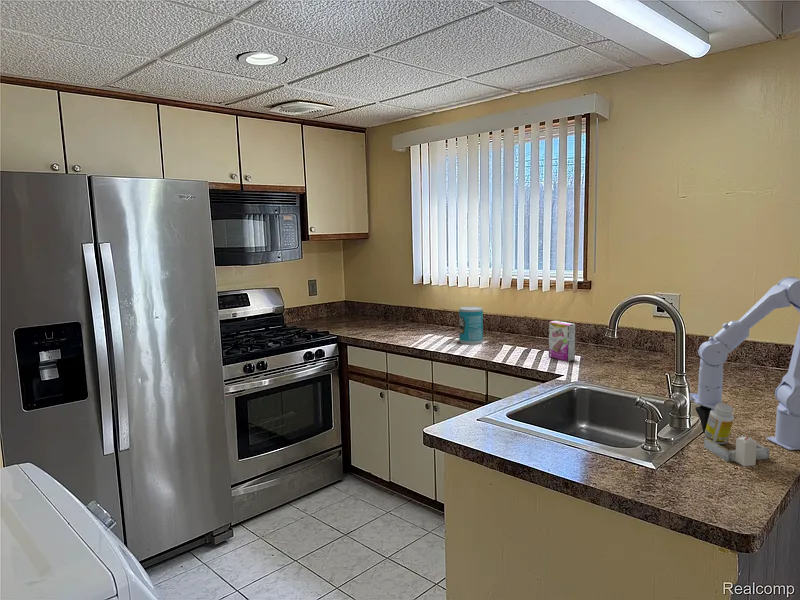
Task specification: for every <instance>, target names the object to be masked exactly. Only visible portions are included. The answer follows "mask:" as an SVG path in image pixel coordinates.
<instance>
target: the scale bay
mask: <svg viewBox="0 0 800 600" xmlns="http://www.w3.org/2000/svg"><path fill="white" fill-rule="evenodd" d="M740 437H745V436H744V435H741V436H739V438H740ZM703 440H704V441H703V443H704V445H703V448H705V450H707V451H709V452H711V453H713V454H715V455H716V456H717V457H719V458H721V459H723V460H725V461H726V462H728V463H729V462H736V461H735V455H736V449H731V450H729V449H727V448H725V447H724V446H722V445H721V444H717V443H715V442H714V441H712V440H710V439H708V438H706V437H705V438H703ZM769 459H770V449H769V448H767V447H766V446H764V445H762V444H759V443H758V442H757V447H756V460H769Z"/></svg>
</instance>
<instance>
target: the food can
mask: <svg viewBox="0 0 800 600" xmlns="http://www.w3.org/2000/svg"><path fill="white" fill-rule="evenodd" d="M458 311H459V312H458V313H459V316H458V319H459V321H458V322H459V323H458V324H459V326H458V327H459V331H458V333H459V343H460V344H462V345H469V346H472V345H473V346H475V345H481V344H483V341H484V320H483V319H484V317H483V316H484V310H483V307H481V306H473V305H472V306H461V307H459V310H458Z"/></svg>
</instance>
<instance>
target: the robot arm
mask: <svg viewBox="0 0 800 600" xmlns="http://www.w3.org/2000/svg"><path fill="white" fill-rule="evenodd" d="M792 306H793V308H794V309H796V311H797V312H798V313H799V314H800V278H798V277H795V276H787V277H784V278H782V279H780V280H779V281H778V283H776V284H775V285H772V287H770V288H769V289H768V290H767V292H766V293H765V294H763V296H762V297H761V298H760V299H759V300H758V301H757V302H756V303H754V304H753V306H752V307H751V308H750V309H749V310H747V312H746V313H745V314H744V315H742V316H741V318H739V319H738V320H730V321H729V322H728V323H727V322H724V323H723V324H722V325H721V327H722V328H721V329H720V330H718V331H717V333H715V335H714V336H709V338H708V341H704V342H702V343H701V344H700V346H699V348H698V349H697V353H698V354H697V355H698V357H700V360H699V367H698V368H699V369H698V383H697V384H698V385H697V387H698V388H697V393H696V392H693V393H692V392H691V393H689V401H691V402H693V404H695V405H697V406H695V408H694V409H695V411H696V413H697V415H698V417H699V420H700V425H701V428H702V429H701V430H702V432H703V434H704V435H705V430H706V426H707V422H708V418H709V414H710V411H711V410H712V409H715V405H716V404H717V403H723V401H722V400H723V383H724V382H723V381H724V363H726V362H727V360H728V356H729V355H728V354H730V353H732V352H733V351H734V350H735V349H736V348H737V347H738V346H740V345H741V344H742V343H743V342H744V341H746V340H747V339H748V337H750V329H751V328H752V327H754V326H755V325H757V324H758V323H759V322H760V321H761V320H763V319H764V318H765V317H767V316H768V315H769V314H771V313H772V312H773V311H775V310H776V309H781V308H789V307H792ZM774 396H775V399H776V400H777V402H778V405H777V407H776V419H775V432H774V434H775V435H774V436H767V437H766V440H768V441H770V442H772V443H774V444H777V445H779V446H780V447H782V448H784V449H786V450H788V451H796V450H800V323H799V325H798V329H797V333H796V337H795V341H794V344H793V350H792V353H791V358H790V361H789V366H788V369H787V372H786V374H785V375H784V376H782V379H781V381H780V383H779V385H778V386H777V387H776V389H775V391H774ZM726 410H731V409H726ZM730 416H731V415H730ZM730 416H723V417H730Z"/></svg>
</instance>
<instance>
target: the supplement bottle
mask: <svg viewBox="0 0 800 600" xmlns="http://www.w3.org/2000/svg"><path fill="white" fill-rule="evenodd" d="M726 409H731V410H726ZM733 410H734V409H733V407H732V406H731V405H729V404H728V403H724V402H722V403H717V404H716V405H715V409H712V410H711V411H710V414H709V418H708V422H707V426H706V430H705V434H704V437H705V439H706V438H708V439H710V440H712V441H714V442H715V443H717V444H719V445H723V444H724V445H725V444H726V443H727V442H728V440H729V437H730V434H731V430H732V426H733V423H734V419H735V416H734V414H733ZM730 415H731V416H730ZM723 416H730V417H723Z"/></svg>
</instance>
